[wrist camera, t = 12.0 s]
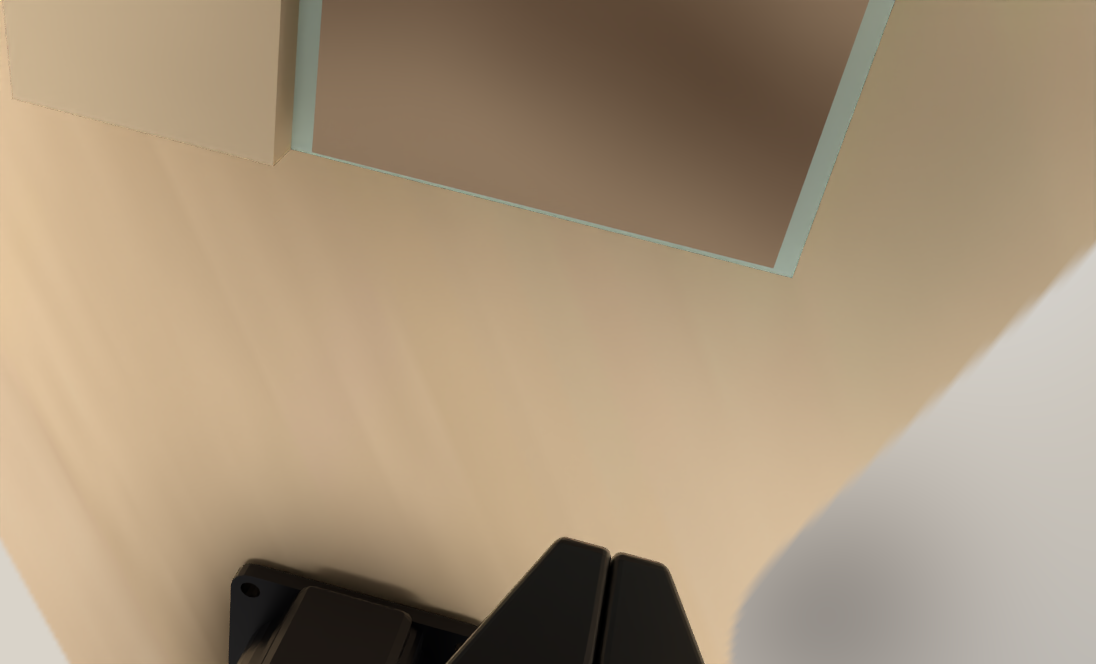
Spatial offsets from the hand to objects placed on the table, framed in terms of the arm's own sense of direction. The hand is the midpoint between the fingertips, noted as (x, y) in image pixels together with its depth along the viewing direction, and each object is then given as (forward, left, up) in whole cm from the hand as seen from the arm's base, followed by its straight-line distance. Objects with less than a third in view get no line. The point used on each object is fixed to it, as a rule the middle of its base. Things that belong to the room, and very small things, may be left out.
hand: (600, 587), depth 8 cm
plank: (+1, +2, -11) cm, 11 cm away
